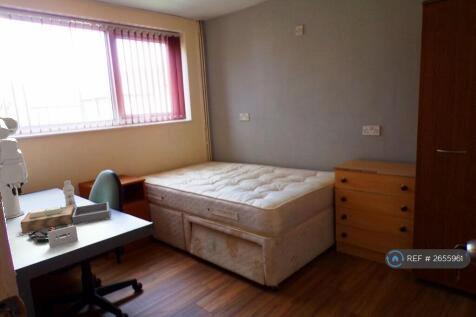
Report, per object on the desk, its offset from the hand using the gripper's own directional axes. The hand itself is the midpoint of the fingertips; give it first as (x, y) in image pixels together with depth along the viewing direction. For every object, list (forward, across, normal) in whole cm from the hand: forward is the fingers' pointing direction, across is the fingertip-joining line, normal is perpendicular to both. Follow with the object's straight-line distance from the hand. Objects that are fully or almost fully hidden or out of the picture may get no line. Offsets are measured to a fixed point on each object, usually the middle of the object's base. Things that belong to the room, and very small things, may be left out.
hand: (17, 194), depth 178 cm
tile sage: (+13, +16, 0) cm, 21 cm away
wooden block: (+19, +14, 0) cm, 23 cm away
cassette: (+19, +24, -40) cm, 51 cm away
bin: (+19, +36, 0) cm, 40 cm away
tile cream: (+13, +8, 0) cm, 16 cm away
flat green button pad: (+20, +18, -23) cm, 35 cm away
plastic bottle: (+19, +22, +21) cm, 36 cm away
